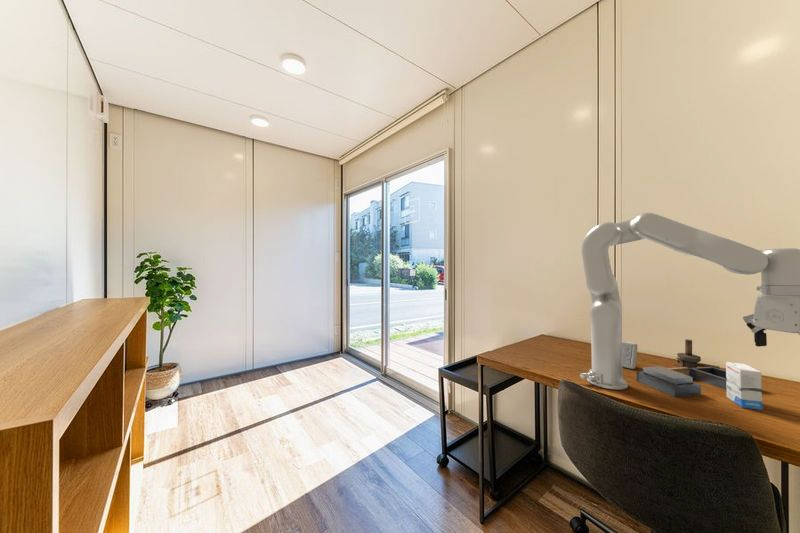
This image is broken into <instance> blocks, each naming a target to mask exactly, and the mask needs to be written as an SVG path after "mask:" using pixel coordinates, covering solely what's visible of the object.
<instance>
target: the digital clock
mask: <svg viewBox="0 0 800 533" xmlns="http://www.w3.org/2000/svg"><path fill="white" fill-rule="evenodd" d="M637 353H638V344H637V343H635V342H630V341H626V340H622V369H623V368H624V369H625V368H626V369H630V370H634V369H635V368H636V363H637Z"/></svg>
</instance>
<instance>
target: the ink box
mask: <svg viewBox="0 0 800 533" xmlns="http://www.w3.org/2000/svg"><path fill="white" fill-rule="evenodd" d="M725 371H726V386H727V390H726V398H728V399H729V400H730V401H732V402H733V403H735V404H736V405H738V406H739V407H740V408H743V409H749V410H750V409H752V410H757V411H758V410H759V411H763V410H764V407H763V405H764V404H763V387H762V372H761V371H760V370H757V369H756V368H754V367H752V366H750V365H748V364H747V363H739V362H731V361H730V362H729V361H727V362H725Z"/></svg>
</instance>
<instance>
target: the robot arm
mask: <svg viewBox="0 0 800 533" xmlns="http://www.w3.org/2000/svg"><path fill="white" fill-rule="evenodd" d="M641 240H648V241H651V242H652V243H653V242H654V243H656V244H658V245H660V246H663V247H665V248H668V249H671V250H673V251H675V252H678V253H681V254H685V255H689V256H693V257H697V258H701V259H703V260H705V261H708V262H712V263H714V264H717V265H720V266H722V267H723V269H724V270H726V271H727V272H730V273H732V274H739V275H755V274H759V273H760V274H761V276H760V277H761V285H757V286H756V290H757V291H760V292H761V294H758V295H757V296H756V300H755V304H754V309H753V310H754V311H753V313H752V314H749V315H745V316H742V320H743V321H744V322H745V324H746V326H747V327H748V328H749V329H750V330H751V332H752V333H753V338H754V339H753V340H754V344H755V347H759V348H760V347H767V345H768V342H767V341H768V340H767V339H768V338H767V336H768V335H767V332H765V331H766V330H769V331H776V332H783V333H789V334H798V335H799V336H800V249H799V248H793V247H792V248H791V247H788V248H768V249H765V250H761V249H760V250H759V249H757V248H754V247H752V246H749V245H746V244H743V243H740V242H738V241H735V240H732V239H729V238H726V237H723V236H719V235H716V234H713V233H710V232H707V231H705V230H702V229H699V228H696V227H693V226H690V225H688V224H685V223H681V222H679V221H676V220H673V219H670V218H668V217H665V216H664V215H659V214H658V213H654V212H644V213H641V214H639V215H637V216H635V217H634V218H632V219H627V220H624V221H619V222H612V221H606V222H602V223H599V224H598V225H595V226H593V228H591V229H590V230H589V232H587V234H586V235H585V236H584V239H583V240H582V244H581V257H582V263H583V269H584V275H585V284H586V288H587V289H588V290H589V292H590V293H589V294H590V298H591V299H590V300H591V303H592V305H591V308H590V312H589V314H590V315H589V318H590V320H589V321H590V338H591V339H590V342H591V344H590V346H591V349H590V350H591V353H590V354H591V368H590V369H588V372H581V373H580V374H579V377H580V379H586V380H587V382H588V383H589V384H592V385H594V386H596V387H599V388H602V389H607V390H617V391H618V390H620V391H621V390H626V389H627V388H629V382H627V380H625V379H624V378H623V367H622V341H623V307H622V301H621V296H620V291H619V287H618V282H617V278H616V277H615V275H614V274H613V271H612V267H611V266H612V265H611V260H610V255H609V254H610V253H609V248H610V247H613V246H619V245H622V244H625V243H626V244H628V243H631V242H637V241H641Z"/></svg>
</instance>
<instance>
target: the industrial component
mask: <svg viewBox="0 0 800 533" xmlns="http://www.w3.org/2000/svg"><path fill="white" fill-rule="evenodd" d="M676 355H677V357H676V360H678V361H679V365H680V366H679V367H688V368H697V367H698V363H700V362H701V361H702V358H701V356H699V355H697V354H694V353H693V340H692V339H688V338H687V339H686V338H685V340H684V352H678V353H676Z"/></svg>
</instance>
